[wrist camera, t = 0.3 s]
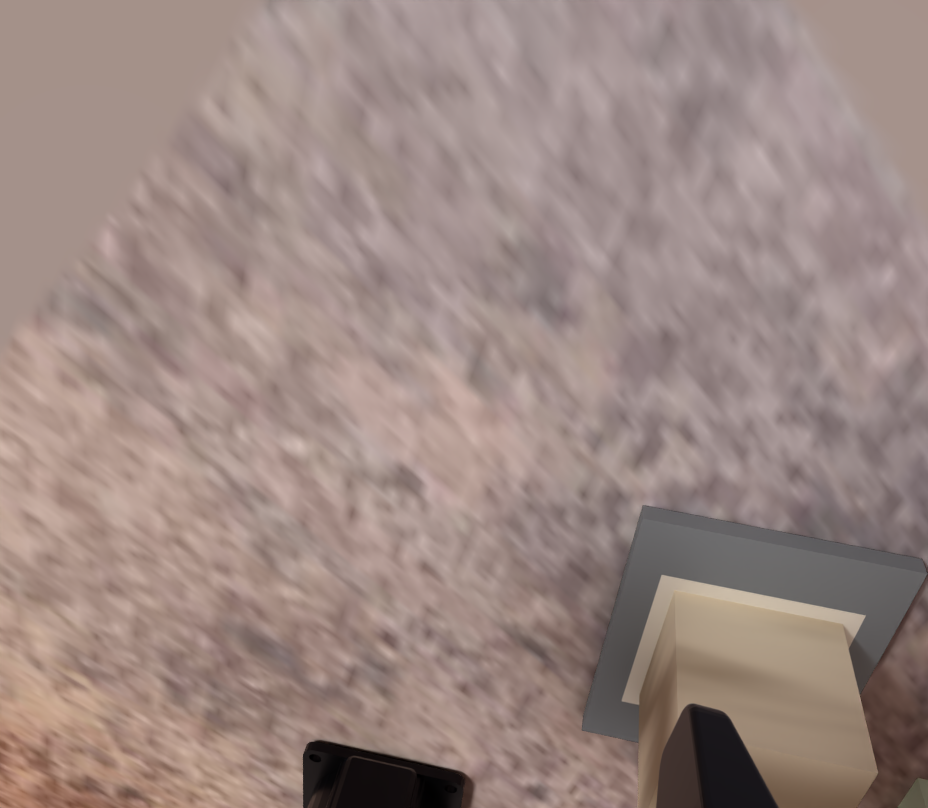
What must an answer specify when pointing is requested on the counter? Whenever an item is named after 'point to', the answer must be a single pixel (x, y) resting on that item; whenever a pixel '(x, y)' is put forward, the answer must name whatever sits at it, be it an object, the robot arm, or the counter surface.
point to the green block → (916, 795)
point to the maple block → (761, 698)
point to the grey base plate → (741, 597)
